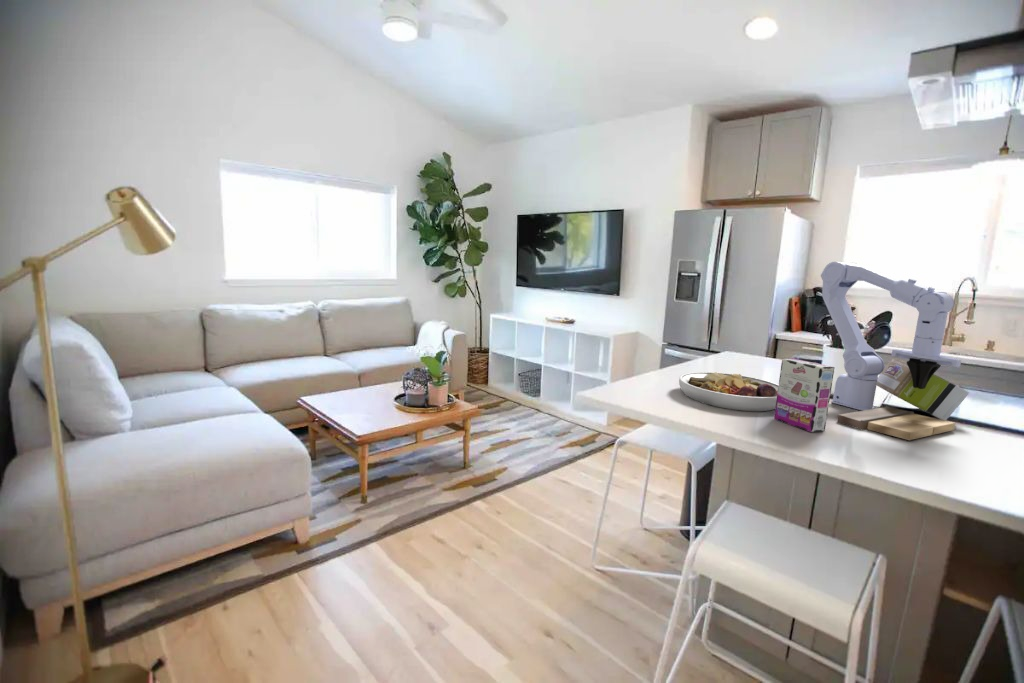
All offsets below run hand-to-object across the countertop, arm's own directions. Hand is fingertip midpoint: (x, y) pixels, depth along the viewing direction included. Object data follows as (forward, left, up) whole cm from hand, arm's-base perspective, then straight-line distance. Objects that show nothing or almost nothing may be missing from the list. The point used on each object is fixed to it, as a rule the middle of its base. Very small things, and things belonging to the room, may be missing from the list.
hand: (918, 387), depth 129 cm
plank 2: (+4, -4, -9) cm, 11 cm away
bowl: (-33, -31, -10) cm, 47 cm away
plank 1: (+4, -15, -9) cm, 18 cm away
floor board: (-4, -10, -9) cm, 14 cm away
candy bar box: (-9, -35, -10) cm, 37 cm away
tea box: (0, +15, -5) cm, 16 cm away
